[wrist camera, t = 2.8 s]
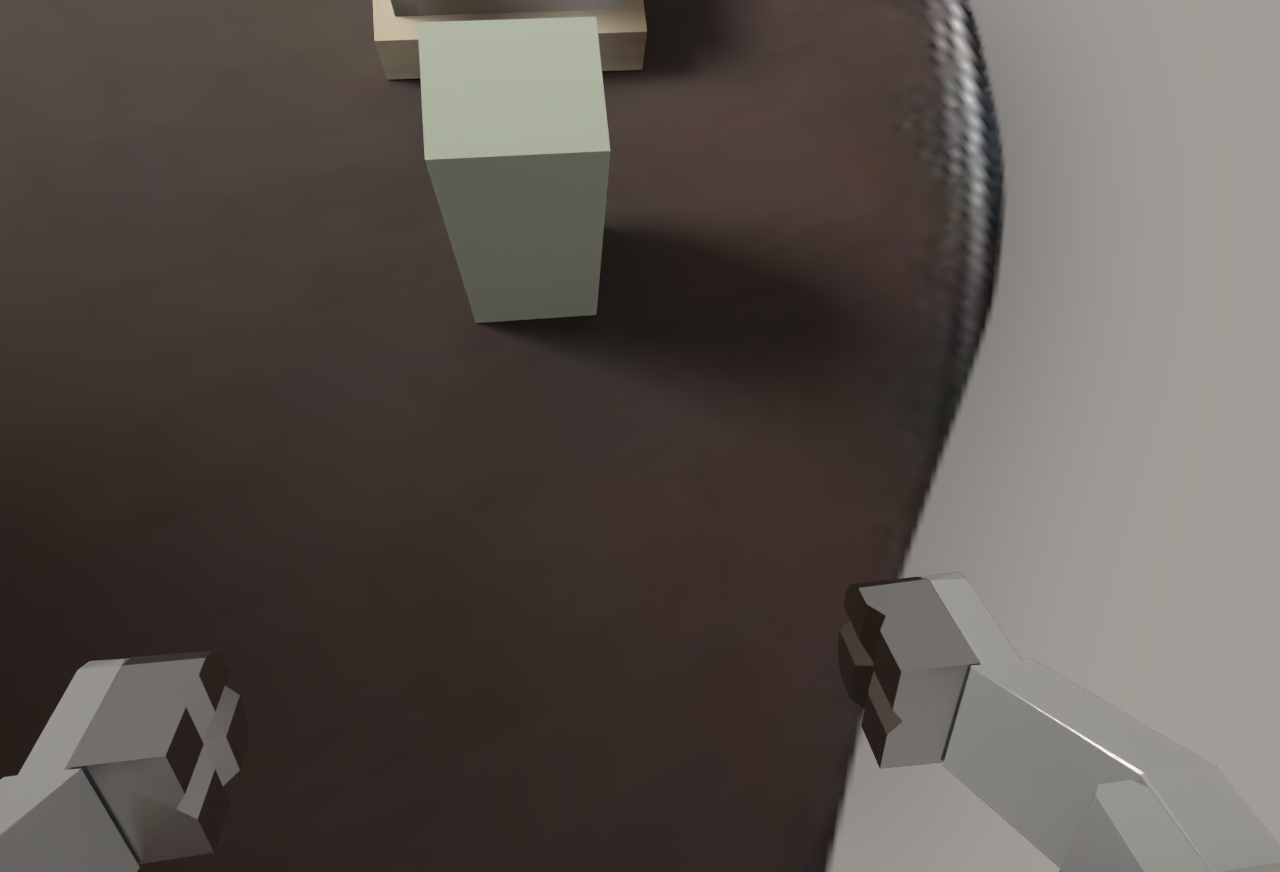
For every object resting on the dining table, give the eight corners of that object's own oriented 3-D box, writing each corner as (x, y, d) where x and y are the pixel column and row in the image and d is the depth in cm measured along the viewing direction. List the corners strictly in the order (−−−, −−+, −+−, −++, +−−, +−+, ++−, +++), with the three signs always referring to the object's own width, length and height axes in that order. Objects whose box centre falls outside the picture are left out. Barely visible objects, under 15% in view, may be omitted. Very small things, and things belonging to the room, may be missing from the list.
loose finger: (475, 323, 28) (425, 159, 18) (468, 212, 29) (416, -1, 19) (596, 314, 28) (610, 150, 18) (585, 205, 29) (593, -7, 19)
